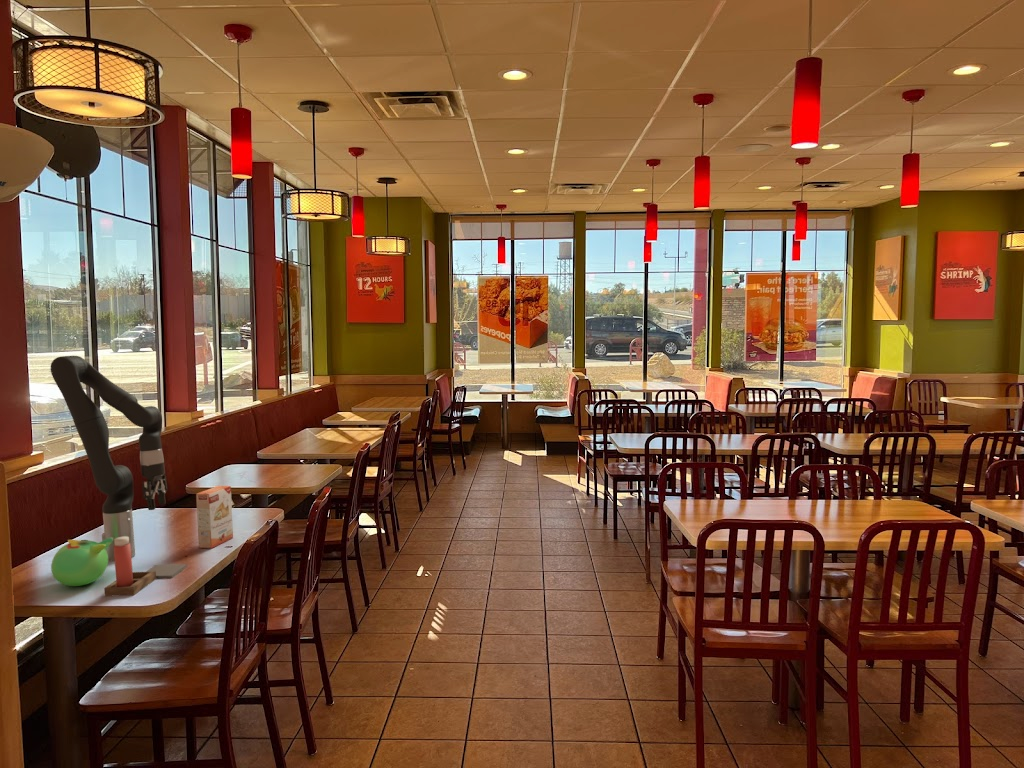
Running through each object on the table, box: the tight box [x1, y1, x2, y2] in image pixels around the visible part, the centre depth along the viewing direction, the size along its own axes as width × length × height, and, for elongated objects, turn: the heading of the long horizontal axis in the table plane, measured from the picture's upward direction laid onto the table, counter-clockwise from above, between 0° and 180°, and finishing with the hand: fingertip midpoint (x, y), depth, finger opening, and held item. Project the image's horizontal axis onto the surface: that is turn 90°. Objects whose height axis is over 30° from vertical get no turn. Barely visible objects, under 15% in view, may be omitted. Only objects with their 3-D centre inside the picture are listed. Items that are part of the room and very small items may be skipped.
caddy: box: [103, 571, 157, 597], centre depth 225 cm, size 14×9×2 cm, turn 1°
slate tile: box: [145, 563, 188, 579], centre depth 239 cm, size 11×11×1 cm
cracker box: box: [195, 485, 234, 549], centre depth 270 cm, size 14×6×21 cm, turn 168°
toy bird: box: [50, 537, 113, 587], centre depth 230 cm, size 18×17×15 cm
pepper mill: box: [114, 536, 134, 587], centre depth 221 cm, size 5×5×17 cm
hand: (157, 506), depth 254 cm, fingers open, 8 cm apart
